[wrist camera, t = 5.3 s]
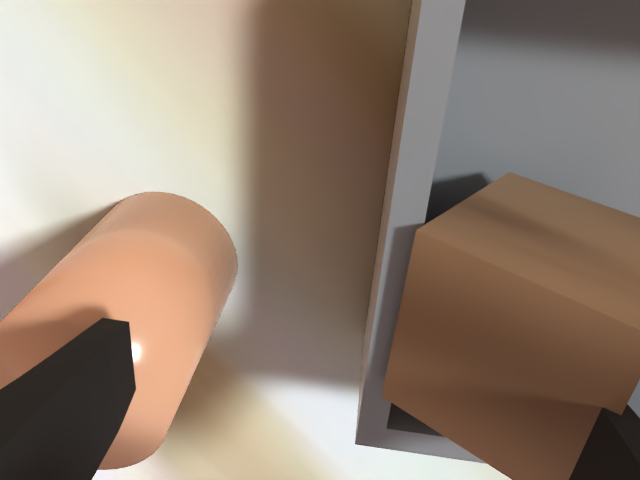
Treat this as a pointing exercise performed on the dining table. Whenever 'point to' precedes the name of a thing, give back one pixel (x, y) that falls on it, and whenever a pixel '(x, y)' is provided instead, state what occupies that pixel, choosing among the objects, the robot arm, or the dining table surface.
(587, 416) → the walnut cube
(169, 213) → the terracotta cylinder
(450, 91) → the tote
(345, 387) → the dining table surface
